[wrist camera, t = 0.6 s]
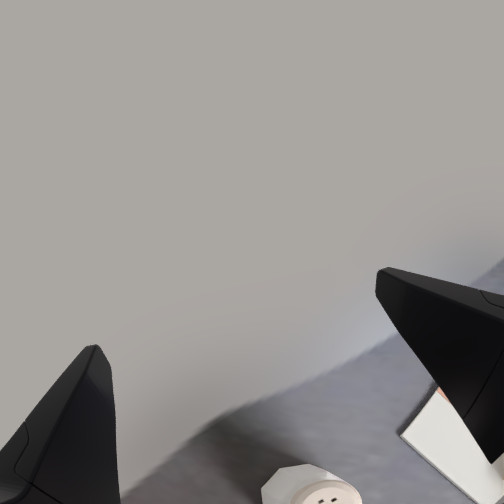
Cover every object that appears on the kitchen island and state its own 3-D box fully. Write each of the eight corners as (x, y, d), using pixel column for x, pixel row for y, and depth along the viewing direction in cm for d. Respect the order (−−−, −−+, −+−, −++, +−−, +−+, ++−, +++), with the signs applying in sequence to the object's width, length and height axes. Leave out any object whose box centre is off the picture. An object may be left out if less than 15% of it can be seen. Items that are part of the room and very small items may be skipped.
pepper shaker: (245, 484, 17) (227, 490, 8) (312, 450, 18) (351, 423, 10) (282, 540, 13) (297, 588, 5) (349, 503, 15) (418, 514, 7)
